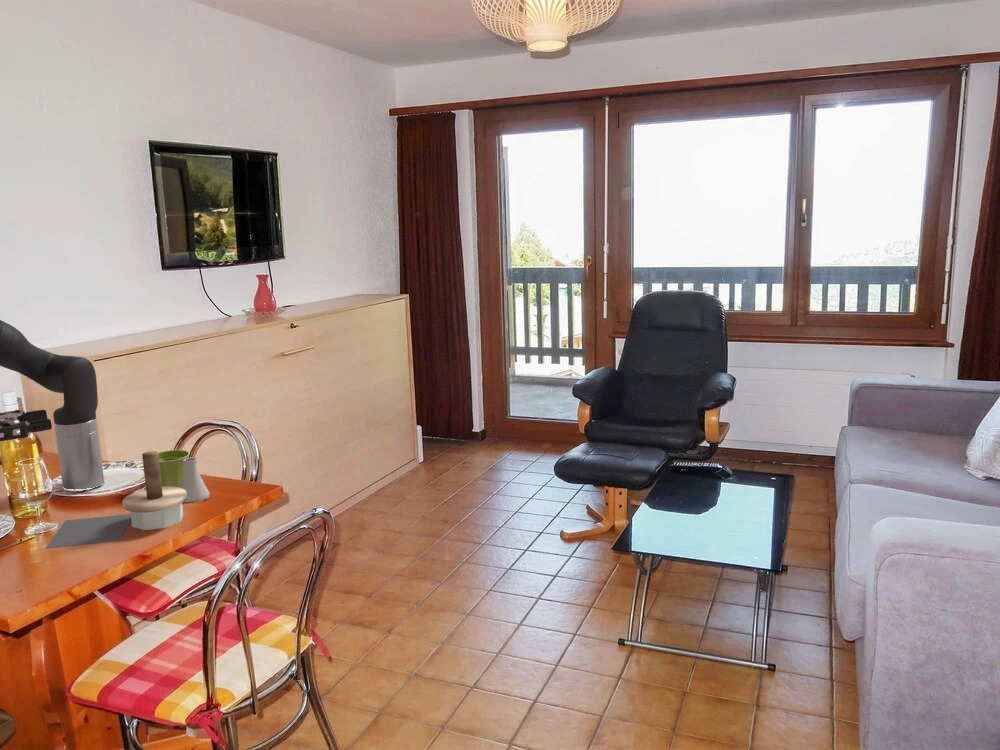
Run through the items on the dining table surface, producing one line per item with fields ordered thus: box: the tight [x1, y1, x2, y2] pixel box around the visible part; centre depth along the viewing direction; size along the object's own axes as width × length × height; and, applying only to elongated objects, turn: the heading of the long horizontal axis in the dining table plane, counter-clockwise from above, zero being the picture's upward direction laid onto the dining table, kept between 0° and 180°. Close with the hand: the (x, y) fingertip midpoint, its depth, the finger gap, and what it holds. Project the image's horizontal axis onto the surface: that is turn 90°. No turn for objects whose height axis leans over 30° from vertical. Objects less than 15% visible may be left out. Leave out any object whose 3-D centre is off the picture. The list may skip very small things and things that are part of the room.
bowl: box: [129, 503, 184, 531], centre depth 173 cm, size 10×10×5 cm
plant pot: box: [158, 449, 191, 488], centre depth 193 cm, size 9×9×9 cm
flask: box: [181, 456, 211, 503], centre depth 186 cm, size 7×7×10 cm
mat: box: [45, 513, 131, 549], centre depth 168 cm, size 15×14×1 cm
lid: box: [122, 450, 187, 512], centre depth 171 cm, size 13×13×11 cm
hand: (48, 418), depth 163 cm, fingers open, 8 cm apart
